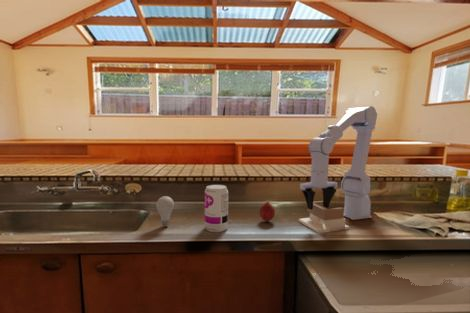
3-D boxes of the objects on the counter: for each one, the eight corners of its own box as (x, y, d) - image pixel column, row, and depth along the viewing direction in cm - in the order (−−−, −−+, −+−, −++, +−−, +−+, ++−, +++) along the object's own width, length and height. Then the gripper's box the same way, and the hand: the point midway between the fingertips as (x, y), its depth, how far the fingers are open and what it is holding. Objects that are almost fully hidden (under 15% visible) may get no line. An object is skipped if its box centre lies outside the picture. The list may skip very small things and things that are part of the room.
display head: (327, 218, 102) (327, 208, 102) (349, 229, 91) (349, 218, 90) (298, 221, 98) (299, 211, 98) (317, 233, 87) (318, 221, 86)
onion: (274, 225, 94) (274, 203, 93) (258, 223, 95) (258, 202, 94) (274, 219, 100) (275, 199, 99) (260, 218, 101) (260, 198, 100)
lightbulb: (177, 224, 94) (177, 195, 93) (168, 230, 88) (167, 199, 87) (163, 222, 96) (162, 193, 95) (153, 228, 90) (152, 197, 89)
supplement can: (210, 234, 85) (210, 190, 83) (201, 226, 92) (201, 185, 91) (231, 230, 89) (232, 188, 87) (221, 222, 96) (222, 183, 94)
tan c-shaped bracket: (324, 209, 100) (325, 200, 100) (343, 218, 91) (343, 208, 90) (307, 211, 98) (307, 202, 98) (324, 220, 88) (324, 210, 88)
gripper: (329, 168, 98) (327, 203, 99) (295, 170, 93) (294, 206, 95) (342, 171, 91) (340, 208, 92) (306, 173, 87) (305, 212, 88)
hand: (317, 207), depth 93 cm, fingers open, 6 cm apart
